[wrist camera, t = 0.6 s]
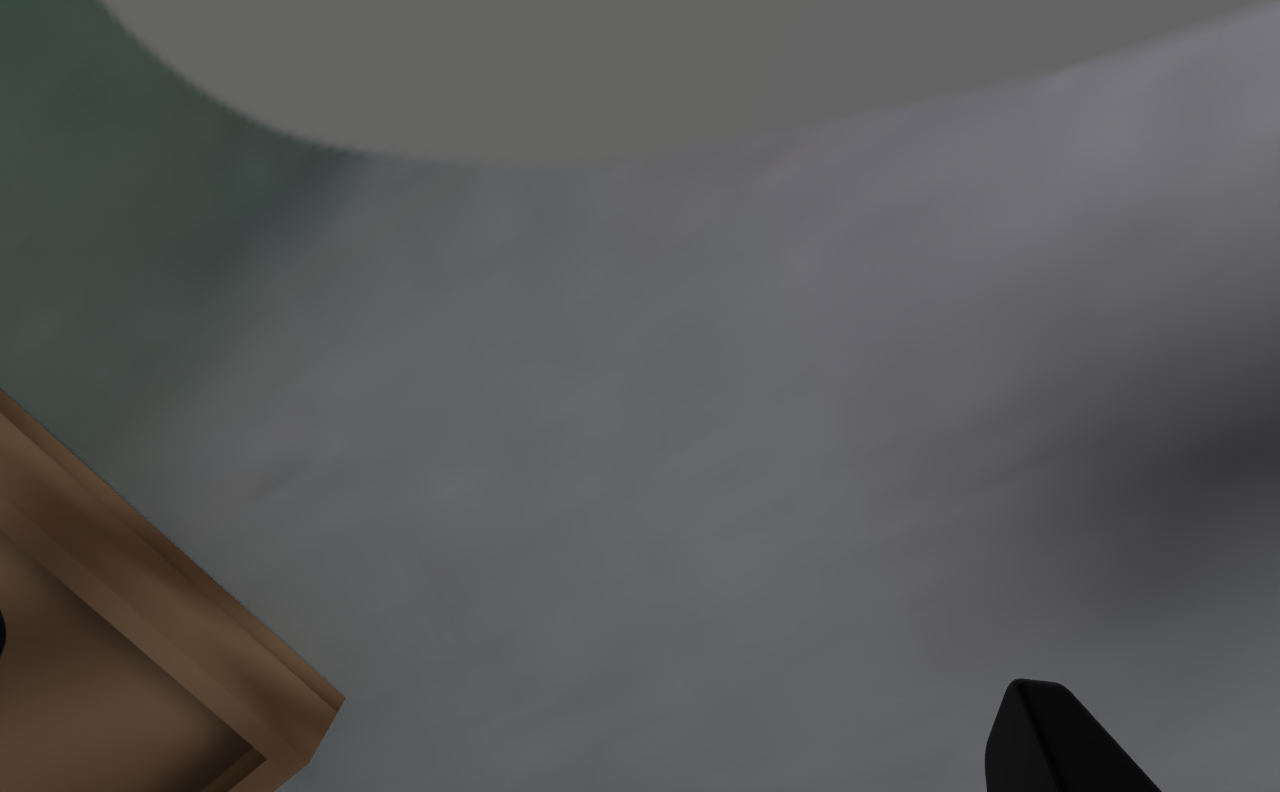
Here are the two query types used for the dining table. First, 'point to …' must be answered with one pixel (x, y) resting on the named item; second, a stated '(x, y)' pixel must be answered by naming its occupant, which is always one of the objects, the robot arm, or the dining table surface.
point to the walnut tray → (130, 648)
